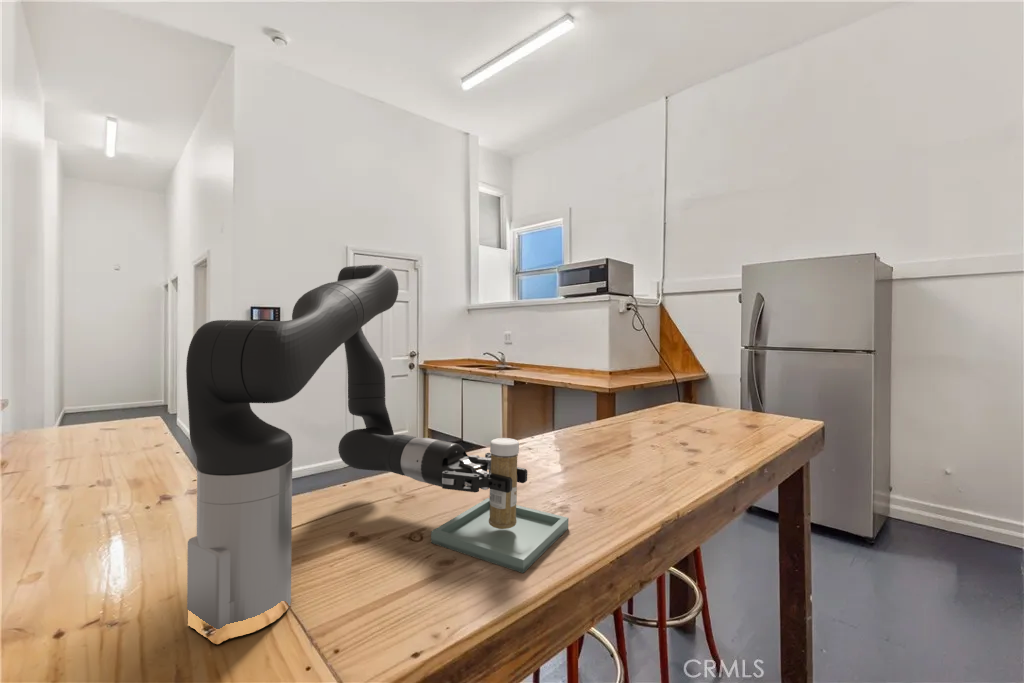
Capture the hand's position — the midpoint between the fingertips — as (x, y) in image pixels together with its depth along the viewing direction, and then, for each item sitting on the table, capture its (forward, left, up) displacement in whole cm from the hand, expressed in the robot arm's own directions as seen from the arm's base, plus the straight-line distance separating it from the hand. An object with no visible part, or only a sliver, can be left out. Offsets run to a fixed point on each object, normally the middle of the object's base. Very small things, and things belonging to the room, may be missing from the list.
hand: (518, 480), depth 69 cm
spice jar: (0, +3, -8) cm, 8 cm away
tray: (0, +3, -9) cm, 10 cm away
